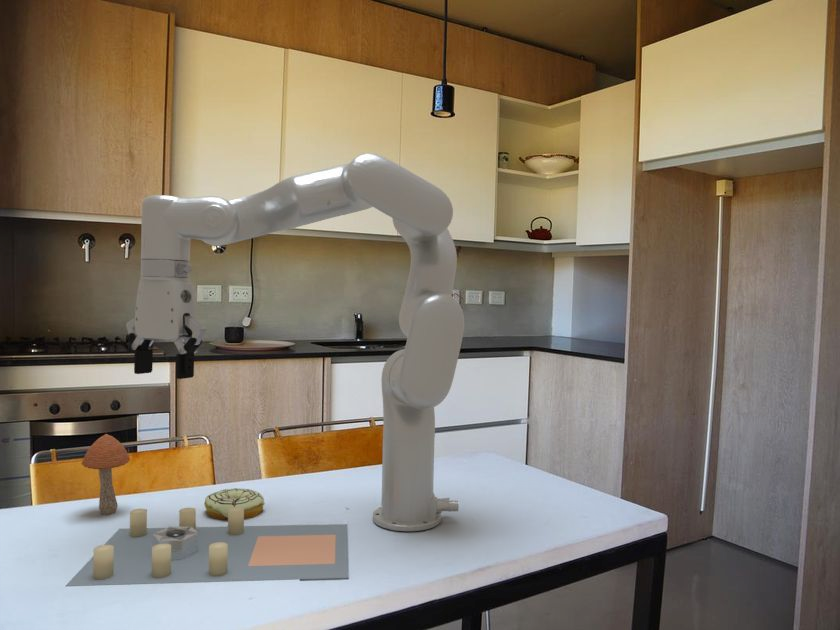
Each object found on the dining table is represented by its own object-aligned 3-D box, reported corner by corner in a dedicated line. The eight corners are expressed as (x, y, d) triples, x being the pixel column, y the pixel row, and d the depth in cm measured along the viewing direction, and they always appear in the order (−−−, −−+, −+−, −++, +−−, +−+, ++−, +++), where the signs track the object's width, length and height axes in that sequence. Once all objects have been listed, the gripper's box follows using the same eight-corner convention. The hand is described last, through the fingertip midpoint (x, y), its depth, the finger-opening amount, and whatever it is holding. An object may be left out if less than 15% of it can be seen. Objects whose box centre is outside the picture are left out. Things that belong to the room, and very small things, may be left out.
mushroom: (81, 524, 113) (81, 439, 113) (81, 510, 120) (81, 430, 120) (130, 518, 117) (131, 436, 116) (128, 505, 124) (128, 427, 123)
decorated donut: (230, 528, 114) (230, 506, 114) (192, 515, 120) (192, 494, 120) (274, 512, 122) (275, 492, 122) (237, 500, 129) (238, 482, 128)
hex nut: (202, 544, 105) (202, 525, 105) (193, 559, 99) (194, 539, 99) (157, 545, 104) (158, 526, 104) (146, 560, 98) (146, 540, 98)
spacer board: (347, 525, 116) (347, 502, 116) (348, 578, 94) (348, 550, 94) (119, 529, 111) (119, 505, 111) (65, 587, 89) (65, 557, 89)
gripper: (221, 273, 105) (219, 377, 106) (148, 272, 113) (146, 369, 114) (185, 271, 99) (183, 382, 99) (110, 270, 107) (108, 373, 107)
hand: (163, 375), depth 107 cm, fingers open, 9 cm apart
